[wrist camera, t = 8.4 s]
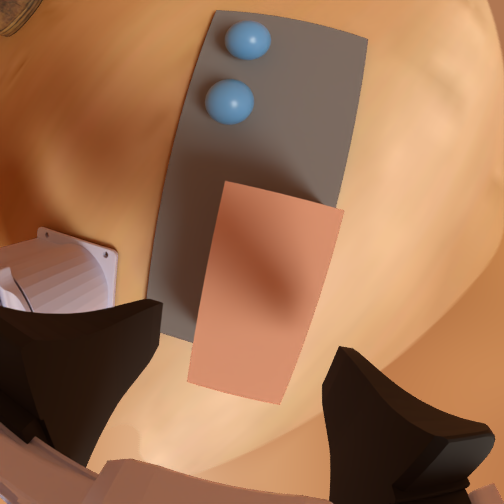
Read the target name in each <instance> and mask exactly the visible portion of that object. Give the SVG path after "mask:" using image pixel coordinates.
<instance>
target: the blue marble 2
mask: <svg viewBox="0 0 504 504" xmlns="http://www.w3.org/2000/svg"><path fill="white" fill-rule="evenodd" d="M205 107H206V110H207V112H208V114H209V115H210V117H211V118H212V119H214V120H215V121H217V122H218V123H221V124H225V125H233V124H237V123H240V122H242V121H243V120H245V119H246V118H247V117H248V116H249V115H250V113H251V112H252V110H253V107H254V96H253V93H252V91H251V89H250V88H249V87H248V86H247V85H246V84H245V83H243V82H241V81H239V80H236V79H224V80H221V81H219V82H217V83H215V84H214V85H213V86H212V87H211V88H210V89H209V90H208V92H207V95H206V98H205Z"/></svg>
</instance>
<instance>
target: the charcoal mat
mask: <svg viewBox="0 0 504 504" xmlns="http://www.w3.org/2000/svg"><path fill="white" fill-rule="evenodd" d="M243 20H253V21H257V22H259V23H261V24H262V25H264V26H265V27H266V28H267V29H268V31H269V33H270V36H271V44H270V47H269V49H268V51H267V52H266V53H265V54H264V55H263V56H261V57H259V58H257V59H254V60H242V59H238V58H236V57H234V56H233V55H232V54H231V53H230V52H229V51H228V50H227V48H226V45H225V35H226V32H227V31H228V29H229V28H230V27H231V26H232V25H233V24H235V23H237V22H239V21H243ZM367 44H368V39H366V38H363V37H360V36H357V35H354V34H351V33H348V32H344V31H341V30H337V29H334V28H330V27H326V26H322V25H318V24H314V23H309V22H305V21H300V20H295V19H290V18H284V17H278V16H271V15H264V14H256V13H247V12H236V11H221V10H216V12H215V15H214V17H213V20H212V22H211V25H210V28H209V30H208V33H207V36H206V38H205V41H204V44H203V47H202V49H201V52H200V55H199V58H198V61H197V64H196V67H195V70H194V73H193V76H192V79H191V83H190V86H189V89H188V92H187V96H186V99H185V103H184V106H183V110H182V113H181V117H180V120H179V124H178V128H177V132H176V136H175V140H174V144H173V148H172V152H171V156H170V161H169V165H168V169H167V174H166V179H165V183H164V188H163V193H162V198H161V204H160V209H159V214H158V220H157V226H156V232H155V238H154V245H153V251H152V258H151V266H150V273H149V282H148V290H147V299H153V300H156V301H159V302H162V303H163V310H162V319H161V328H160V333H163V334H166V335H170V336H173V337H176V338H179V339H182V340H185V341H189V342H192V343H193V341H194V335H195V329H196V323H197V318H198V312H199V306H200V301H201V295H202V290H203V285H204V279H205V274H206V269H207V264H208V259H209V254H210V249H211V244H212V239H213V234H214V230H215V225H216V220H217V216H218V211H219V206H220V202H221V197H222V193H223V188H224V184H225V181H228V182H233V183H238V184H242V185H246V186H251V187H255V188H260V189H264V190H268V191H272V192H276V193H280V194H284V195H288V196H292V197H296V198H300V199H304V200H308V201H312V202H315V203H319V204H323V205H326V206H330V207H334V208H336V204H337V200H338V196H339V192H340V188H341V184H342V180H343V175H344V171H345V167H346V162H347V158H348V153H349V148H350V144H351V139H352V134H353V129H354V124H355V119H356V114H357V108H358V103H359V97H360V91H361V85H362V79H363V72H364V66H365V59H366V52H367ZM224 79H236V80H239V81H241V82H243V83H245V84H246V85H247V86H248V87H249V88H250V89H251V91H252V93H253V96H254V107H253V110H252V112H251V113H250V115H249V116H248V117H247V118H246V119H245V120H243V121H242V122H240V123H237V124H233V125H225V124H221V123H218V122H217V121H215V120H214V119H212V118H211V117H210V115H209V114H208V112H207V110H206V107H205V98H206V95H207V92H208V90H209V89H210V88H211V87H212V86H213V85H214V84H215V83H217V82H219V81H221V80H224Z"/></svg>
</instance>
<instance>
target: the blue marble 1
mask: <svg viewBox="0 0 504 504" xmlns="http://www.w3.org/2000/svg"><path fill="white" fill-rule="evenodd" d="M270 44H271V36H270V33H269V31H268V29H267V28H266V27H265V26H264V25H262V24H261V23H259V22H257V21H253V20H243V21H239V22H237V23H235V24H233V25H232V26H231V27H230V28H229V29H228V31H227V32H226V35H225V45H226V48H227V50H228V51H229V52H230V53H231V54H232V55H233V56H234V57H236V58H238V59H242V60H254V59H257V58H259V57H261V56H263V55H264V54H265V53H266V52H267V51H268V49H269V47H270Z"/></svg>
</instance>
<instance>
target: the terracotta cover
mask: <svg viewBox="0 0 504 504" xmlns="http://www.w3.org/2000/svg"><path fill="white" fill-rule="evenodd" d="M343 214H344V210H341V209H337V208H334V207H330V206H326V205H323V204H319V203H315V202H312V201H308V200H304V199H300V198H296V197H292V196H288V195H284V194H280V193H276V192H272V191H268V190H264V189H260V188H255V187H251V186H246V185H242V184H238V183H233V182H228V181H225V184H224V188H223V193H222V197H221V202H220V206H219V211H218V216H217V220H216V225H215V230H214V234H213V239H212V244H211V249H210V254H209V259H208V264H207V269H206V274H205V279H204V285H203V290H202V295H201V301H200V306H199V312H198V318H197V323H196V329H195V335H194V341H193V347H192V353H191V359H190V366H189V372H188V379H187V382H189V383H193V384H196V385H199V386H203V387H206V388H210V389H213V390H217V391H221V392H225V393H228V394H232V395H237V396H241V397H245V398H249V399H254V400H258V401H263V402H268V403H273V404H278V405H280V403H281V401H282V398H283V396H284V393H285V391H286V388H287V386H288V383H289V381H290V378H291V376H292V373H293V371H294V368H295V365H296V363H297V360H298V357H299V355H300V352H301V349H302V347H303V344H304V341H305V338H306V335H307V333H308V330H309V327H310V324H311V321H312V318H313V315H314V312H315V309H316V306H317V303H318V300H319V297H320V294H321V291H322V287H323V284H324V281H325V278H326V274H327V271H328V268H329V264H330V261H331V258H332V254H333V251H334V247H335V244H336V240H337V236H338V233H339V229H340V225H341V222H342V218H343Z"/></svg>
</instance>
